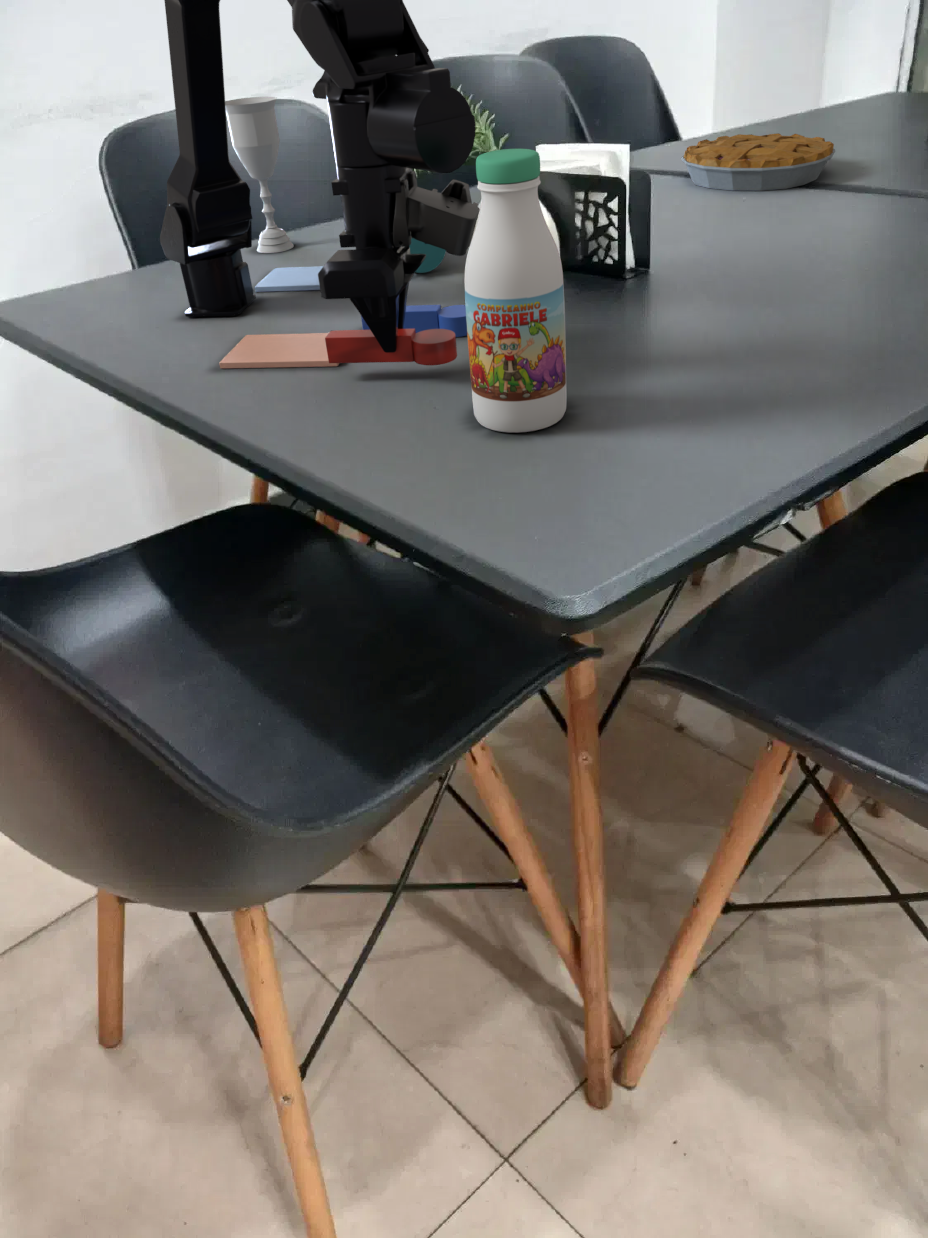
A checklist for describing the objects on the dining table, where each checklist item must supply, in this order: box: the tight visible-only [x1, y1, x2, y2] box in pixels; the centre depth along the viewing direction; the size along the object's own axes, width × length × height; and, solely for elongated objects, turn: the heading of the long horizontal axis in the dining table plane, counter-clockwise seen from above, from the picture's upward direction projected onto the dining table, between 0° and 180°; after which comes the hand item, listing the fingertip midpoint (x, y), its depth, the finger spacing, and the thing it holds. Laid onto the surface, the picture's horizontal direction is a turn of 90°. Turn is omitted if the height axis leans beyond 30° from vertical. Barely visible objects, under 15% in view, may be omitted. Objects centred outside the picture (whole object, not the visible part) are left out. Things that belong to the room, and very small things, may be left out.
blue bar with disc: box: [360, 304, 468, 338], centre depth 99 cm, size 12×4×2 cm, turn 81°
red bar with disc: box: [325, 329, 458, 366], centre depth 88 cm, size 12×4×2 cm, turn 81°
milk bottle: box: [464, 148, 568, 433], centre depth 75 cm, size 8×8×20 cm
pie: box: [680, 132, 836, 192], centre depth 144 cm, size 22×22×5 cm
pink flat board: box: [218, 332, 340, 369], centre depth 98 cm, size 12×8×1 cm, turn 81°
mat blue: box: [254, 265, 324, 293], centre depth 118 cm, size 12×8×1 cm, turn 81°
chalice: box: [225, 96, 294, 254], centre depth 128 cm, size 7×7×18 cm
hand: (393, 347), depth 88 cm, fingers closed on red bar with disc, 2 cm apart
